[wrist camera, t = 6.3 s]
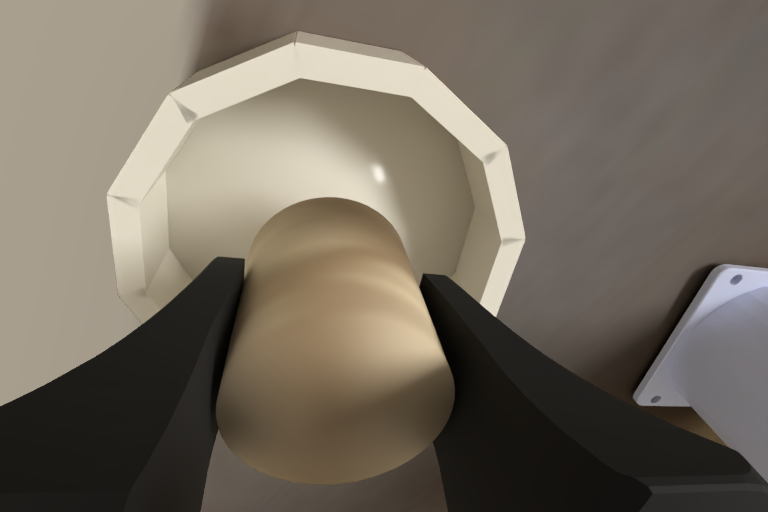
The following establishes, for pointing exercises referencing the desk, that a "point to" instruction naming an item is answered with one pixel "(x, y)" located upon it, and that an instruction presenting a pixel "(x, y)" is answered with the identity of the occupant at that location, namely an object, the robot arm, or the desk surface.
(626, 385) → the desk surface
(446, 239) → the bowl
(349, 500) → the desk surface
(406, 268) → the tan wooden cylinder
